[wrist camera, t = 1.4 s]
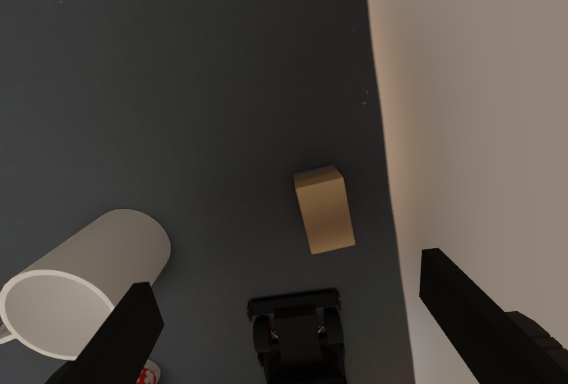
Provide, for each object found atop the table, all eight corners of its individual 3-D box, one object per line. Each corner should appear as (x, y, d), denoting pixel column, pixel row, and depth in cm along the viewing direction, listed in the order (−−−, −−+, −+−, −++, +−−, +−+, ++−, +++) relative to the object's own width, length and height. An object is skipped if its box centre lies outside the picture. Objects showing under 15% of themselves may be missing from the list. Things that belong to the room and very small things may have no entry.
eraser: (292, 173, 27) (295, 188, 22) (333, 163, 26) (343, 177, 22) (306, 231, 29) (311, 254, 25) (344, 222, 29) (355, 245, 24)
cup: (44, 239, 29) (-72, 312, 19) (143, 196, 27) (71, 252, 18) (92, 297, 31) (12, 386, 22) (185, 261, 30) (141, 339, 20)
